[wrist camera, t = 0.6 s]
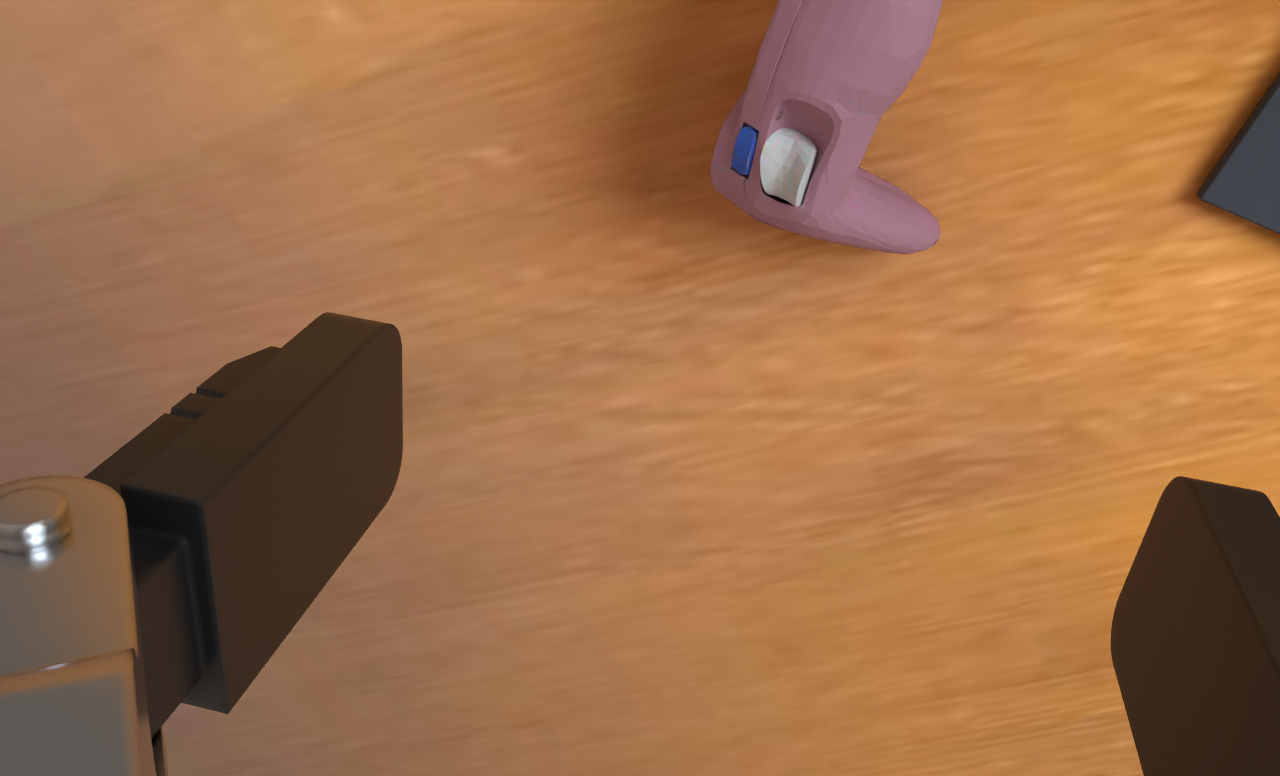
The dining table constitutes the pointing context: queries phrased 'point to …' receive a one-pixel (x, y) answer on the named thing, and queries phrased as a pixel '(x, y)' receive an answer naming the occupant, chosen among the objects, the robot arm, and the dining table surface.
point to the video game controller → (827, 123)
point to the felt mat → (1251, 167)
